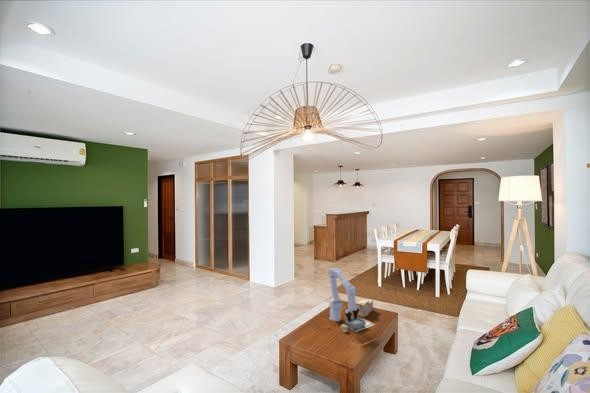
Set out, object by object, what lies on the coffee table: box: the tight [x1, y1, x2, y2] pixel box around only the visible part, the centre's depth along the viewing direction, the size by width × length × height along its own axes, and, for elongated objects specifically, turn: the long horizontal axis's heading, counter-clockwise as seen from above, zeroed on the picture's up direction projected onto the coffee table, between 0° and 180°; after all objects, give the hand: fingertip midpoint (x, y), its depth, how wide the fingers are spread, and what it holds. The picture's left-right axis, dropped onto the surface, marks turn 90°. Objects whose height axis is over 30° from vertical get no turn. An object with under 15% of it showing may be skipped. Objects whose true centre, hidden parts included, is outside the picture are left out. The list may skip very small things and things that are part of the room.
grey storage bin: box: [344, 316, 366, 330], centre depth 227 cm, size 11×12×5 cm
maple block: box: [340, 323, 349, 333], centre depth 221 cm, size 4×4×5 cm
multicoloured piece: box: [356, 298, 374, 318], centre depth 254 cm, size 21×6×12 cm, turn 143°
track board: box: [348, 318, 376, 333], centre depth 230 cm, size 13×22×1 cm, turn 122°
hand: (352, 320), depth 220 cm, fingers open, 7 cm apart
